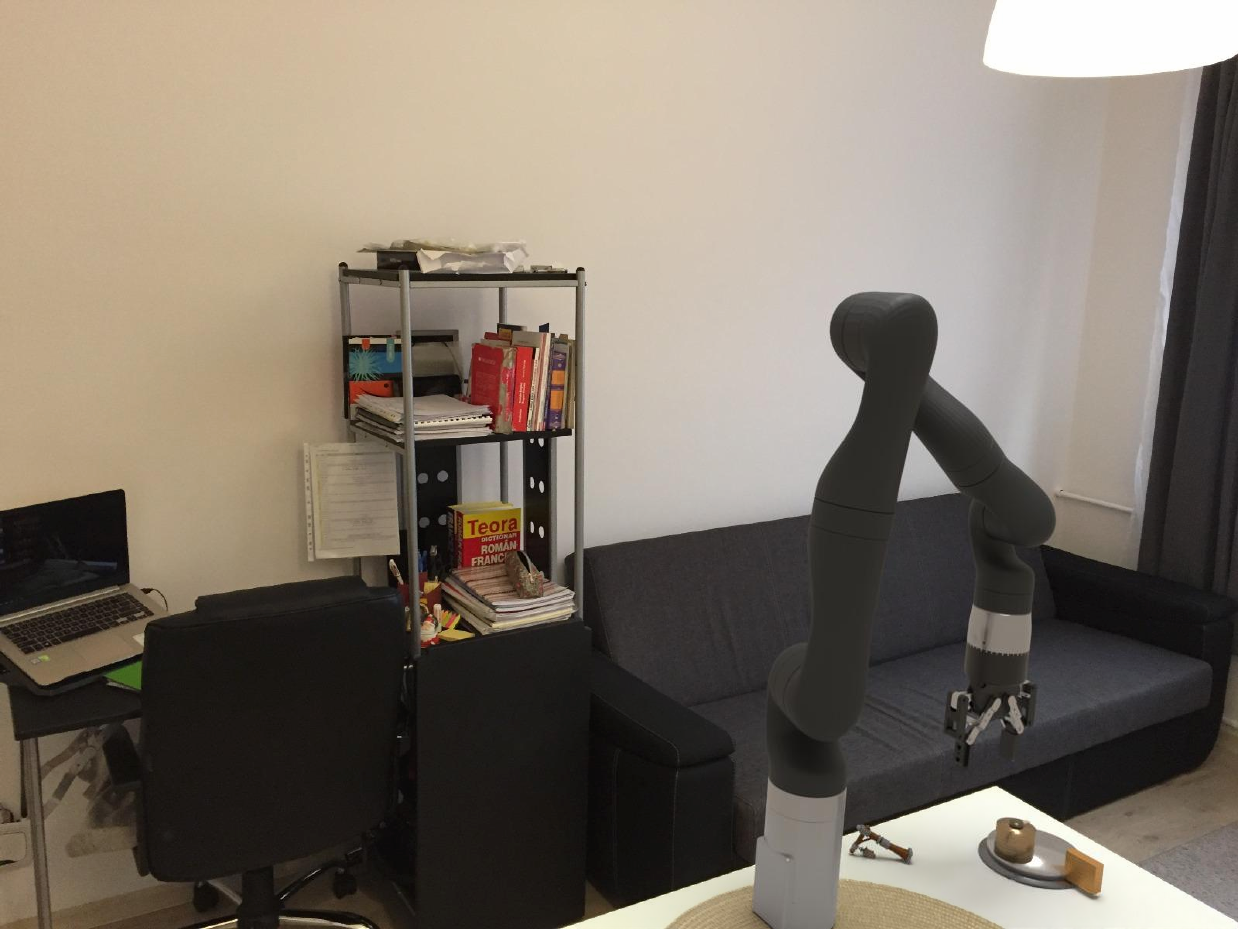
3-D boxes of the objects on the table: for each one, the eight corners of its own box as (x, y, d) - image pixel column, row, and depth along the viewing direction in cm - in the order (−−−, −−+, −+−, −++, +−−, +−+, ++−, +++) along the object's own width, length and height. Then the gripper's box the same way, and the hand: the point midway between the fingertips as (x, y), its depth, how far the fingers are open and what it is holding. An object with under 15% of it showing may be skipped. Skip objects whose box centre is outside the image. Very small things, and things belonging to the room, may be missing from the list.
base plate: (1039, 899, 133) (1039, 896, 133) (956, 847, 145) (956, 845, 145) (1111, 875, 139) (1111, 872, 139) (1025, 828, 151) (1026, 825, 151)
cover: (1015, 867, 137) (1018, 834, 136) (985, 849, 141) (988, 817, 140) (1041, 859, 139) (1045, 827, 138) (1011, 842, 143) (1014, 810, 143)
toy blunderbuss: (843, 844, 143) (859, 818, 142) (895, 873, 142) (912, 846, 141) (844, 851, 141) (860, 824, 140) (897, 880, 140) (914, 853, 139)
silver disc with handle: (967, 844, 144) (970, 819, 144) (1027, 828, 150) (1029, 803, 149) (1065, 904, 130) (1068, 876, 130) (1127, 883, 136) (1130, 856, 136)
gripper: (981, 657, 126) (968, 785, 128) (1060, 644, 133) (1046, 766, 135) (935, 639, 132) (923, 761, 134) (1013, 628, 139) (1000, 744, 141)
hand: (985, 763), depth 135 cm, fingers open, 7 cm apart
